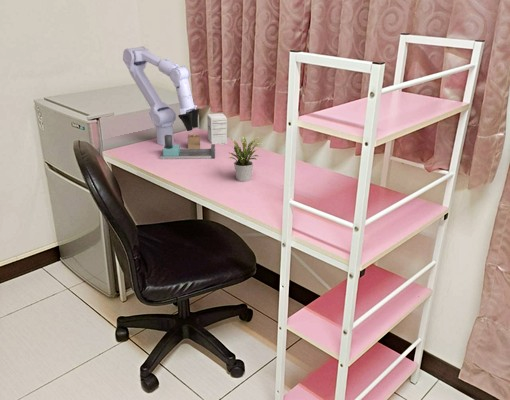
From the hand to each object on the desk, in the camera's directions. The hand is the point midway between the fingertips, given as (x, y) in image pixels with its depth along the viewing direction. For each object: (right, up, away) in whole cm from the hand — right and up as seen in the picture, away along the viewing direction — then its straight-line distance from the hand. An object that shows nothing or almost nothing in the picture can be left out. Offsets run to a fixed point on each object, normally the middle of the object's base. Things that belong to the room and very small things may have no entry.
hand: (192, 129), depth 209 cm
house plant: (+23, -22, -23) cm, 40 cm away
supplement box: (+9, -4, +16) cm, 19 cm away
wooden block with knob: (0, -8, +7) cm, 11 cm away
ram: (-8, -11, -3) cm, 14 cm away
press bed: (-2, -12, -2) cm, 12 cm away
